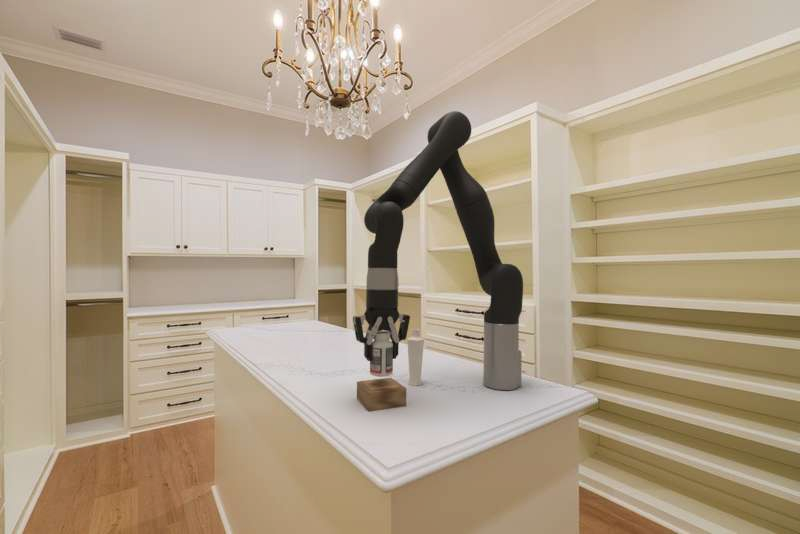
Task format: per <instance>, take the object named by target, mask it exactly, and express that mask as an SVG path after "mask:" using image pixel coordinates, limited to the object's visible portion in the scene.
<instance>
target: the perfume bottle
mask: <svg viewBox="0 0 800 534" xmlns="http://www.w3.org/2000/svg"><path fill="white" fill-rule="evenodd" d="M411 330H412V331H411V336H410V337H408V338H406V339H407V351H408V352H407V356H408V373H409V375H408V377H409V378H408V384H407V385H410V386H415V387H417V386H420V385H421V386H422V385H423V382H422V367H423V355H424V345H425V343H424V342H425V339H424V338H423V337H421V336H420V329H419V328H411Z"/></svg>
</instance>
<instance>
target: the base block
mask: <svg viewBox="0 0 800 534" xmlns="http://www.w3.org/2000/svg"><path fill="white" fill-rule="evenodd" d="M356 400H358V401H359V403H360V404H361V405H362V406H363V407H364V408H365V409H366V410H367V411H368V412H373V411H380V410H386V409H388V410H389V409H394V408H395V409H396V408H402V407H406V406H407V388H406V387H405V386H404V385H402V384H401V383H399V382H398V381H397V380H395V379H394V378H392V377H384V378H375V379H374V378H373V379H366V380H360V381H357V382H356Z"/></svg>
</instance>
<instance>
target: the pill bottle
mask: <svg viewBox="0 0 800 534" xmlns="http://www.w3.org/2000/svg"><path fill="white" fill-rule="evenodd" d="M371 345H372V361H369V374H370V375H371V376H373V377H380V378H382V377H384V378H385V377H388V376H392V375H393V371H394V370H393V369H394V367H393V366H394V361H393V343H392V341H391V338H390V332H387V331H385V330H382V331H377V333H376V335H375V336H374V338H373V341H372V343H371Z"/></svg>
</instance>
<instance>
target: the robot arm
mask: <svg viewBox="0 0 800 534" xmlns="http://www.w3.org/2000/svg"><path fill="white" fill-rule="evenodd" d="M471 136H472V123H471V121H470V120H469V118H468V117H467V116H466V115H465V114H464V113H463V112H461V111H457V110H455V111H449V112H448V113H445V114H444V115H442V116H441V117H440V118H439V119H438V120H437V121H436V122H434V123H433V124H432V125H431V126H430V127H429V129H428V131H427V142H428V144H427V145H426V146H425V147H424V148H423V149H422V150H421V151H420V153H418V154H417V156H415V157H414V159H413V160H411V162H409V164H407V165H406V166H405V168H403V170H402V171H401V172H400V173H399V175H398V176H397V177H396V179H395V180H394V181H393V182H392V184H391V185H390V187H389V188H388V189H386V191H384V192H383V193H382V194H381V195H380V196H379V197H378V198H377V199H376V200H375V201H373V202H372V204H371V205H370V206H369V207H368V208H367V210H366V212H365V214H364V217H363V218H364V220H363V222H364V225H365V228H366V229H367V230H368V231H369V232H370V233H373V234H374V235H375V237H374V241H373V242H372V243H371V244H370V245H369V248H368V250H367V252H368V253H367V273H366V287H365V289H366V293H365V294H366V296H365V304H366V305H365V309H366V310H365V312H364V314H361V315H354V316H353V317H352V322H353V329H354V334H355V340H356V341H357V342H359V343H361V344H363V345H364V346H363V347H364V348H363V349H364V350H363V356H364V358H365V359H366V361H368V362H370V361H372V345H371V343H372V342H373V341H374V339H373V338H374V336H375V335H376V333H377V331H387V332H390V341H391V342H392V343H393V359H394V360H395V359H397V357H398V356H399V346H400V345H399V343H400V342H401V341H406V339H407V336H408V330H409V325H410V320H411V316H410V315H409V314H406V313H405V314H404V313H403V314H402V313H401V314H400V312H399V310H398V307H399V273H398V256H399V255H398V250H399V246H400V243H401V238H402V234H403V230H404V222H405V221H404V219H405V218H404V214H403V211H404V210H405V209H408V208H409V207H411V206H412V205H413V204H414V203H415V201H417V199H418V197H420V196H421V194H422V193H423V192H424V190H425V188H426V187H427V186H428V185H429V183H430V182H431V181H432V180H433V178H434V177H435V175H436V174H437V173H438V171H439V170H440V172H441V174H442V176H443V179H444V181H445V184H446V186H447V189H448V191H449V194H450V197H451V199H452V202H453V206H454V208H455V211H456V214H457V217H458V220H459V223H460V225H461V227H462V229H463V233H464V235H465V238H466V241H467V243H468V246H469V249H470V252H471V255H472V257H473V260H474V261H473V262H474V266H475V269H476V273H477V274H476V275H477V277H478V278H477V279H478V281H479V286H480V288H481V289H482V290H483V291H484V293H486V294H487V295H488V296H490V303H489V307H488V309H486V310H485V311H484V312H483V375H482V377H483V379H482V380H483V385H484V386H485V387H487V388H490V389H494V390H500V391H513V390H516V389H518V388H519V387H522V358H523V357H522V351H521V350H519V348H520V345H519V344H520V342H519V337H520V335H519V334H520V333H519V332H520V331H519V330H520V329H519V328H520V326H519V325H520V323H519V322H520V316H521V314H522V311H523V300H524V299H523V297H524V279H523V275H522V273H521V271H520V269H519V268H518V267H517V266H516V265H514V264H510V263H503V262H502V260H501V258H500V255H499V253H498V251H497V247H496V244H495V215H494V210H493V207H492V205H491V202H490V198H489V197H488V193H487V192H486V190H485V189H484V187H483V186H482V185H481V183H479V182H478V181H477V180H476V179H475V178H474V177H473V176H472V174H470V173H469V172H468V171H467V169H466V167H465V166H464V164H463V161H462V159H461V156H460V153H459V149H461V148H462V147H463V146H465V145H466V144H467V142H468V141H469V139H470V138H471ZM397 321H398V322H399V326H398V327H399V328H398V331H397V327H396V326H395V324H396V323H397ZM365 322H366V323H367V324H368V327H367V328H366V331H365V334H364V332H363V331H364V329H363V325H364V324H365Z"/></svg>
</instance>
